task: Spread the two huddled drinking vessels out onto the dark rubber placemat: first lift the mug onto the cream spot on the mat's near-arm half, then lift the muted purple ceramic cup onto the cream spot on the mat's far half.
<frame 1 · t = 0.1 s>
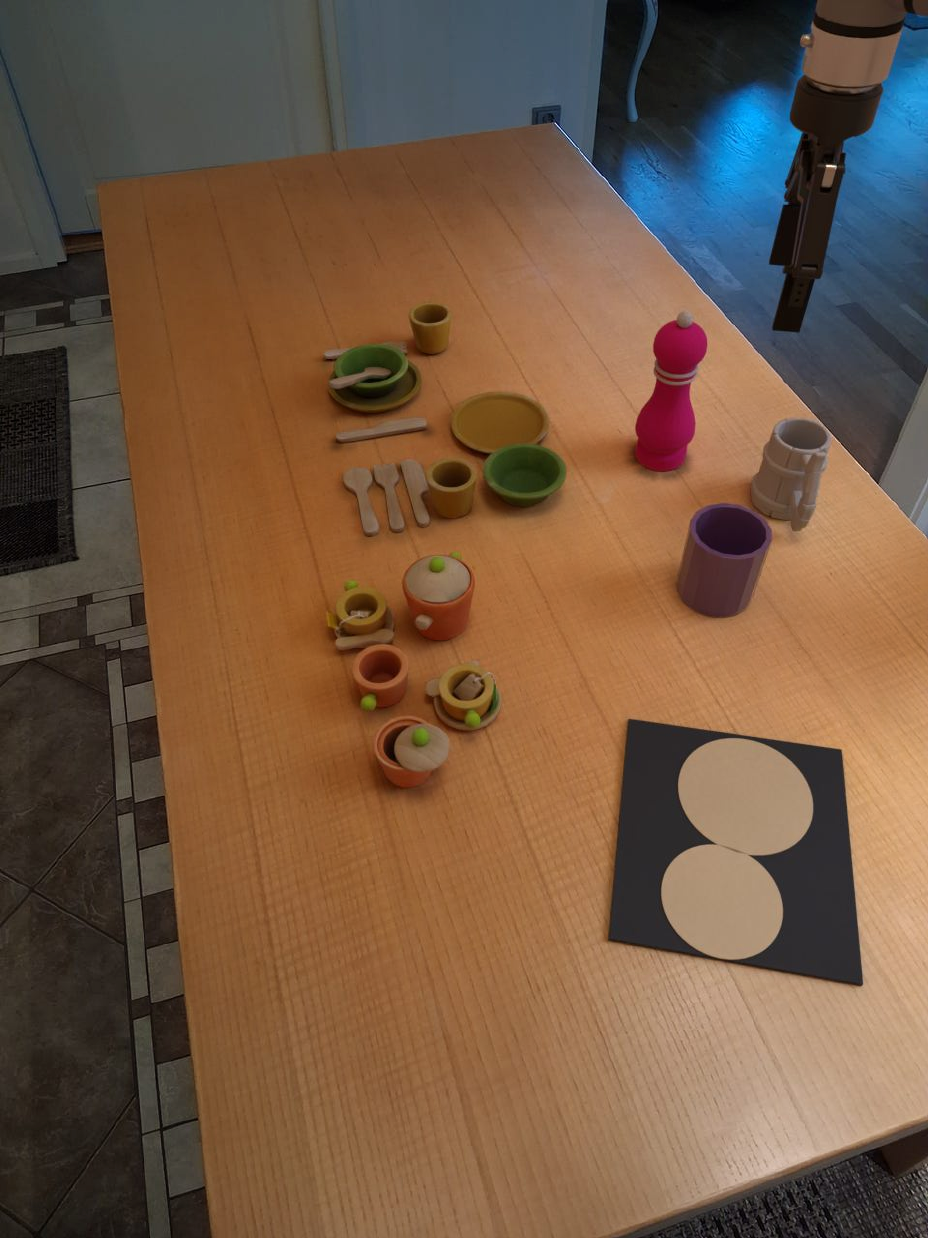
hand: (783, 295, 97), 21 cm above the table, tool pointing down, fingers open, 13 cm apart
tableware set: (439, 424, 119), on the table
purple cup: (714, 589, 98), on the table
mug: (784, 512, 106), on the table
toy tea set: (421, 683, 91), on the table
pepper mill: (659, 456, 114), on the table
placemat: (732, 839, 79), on the table
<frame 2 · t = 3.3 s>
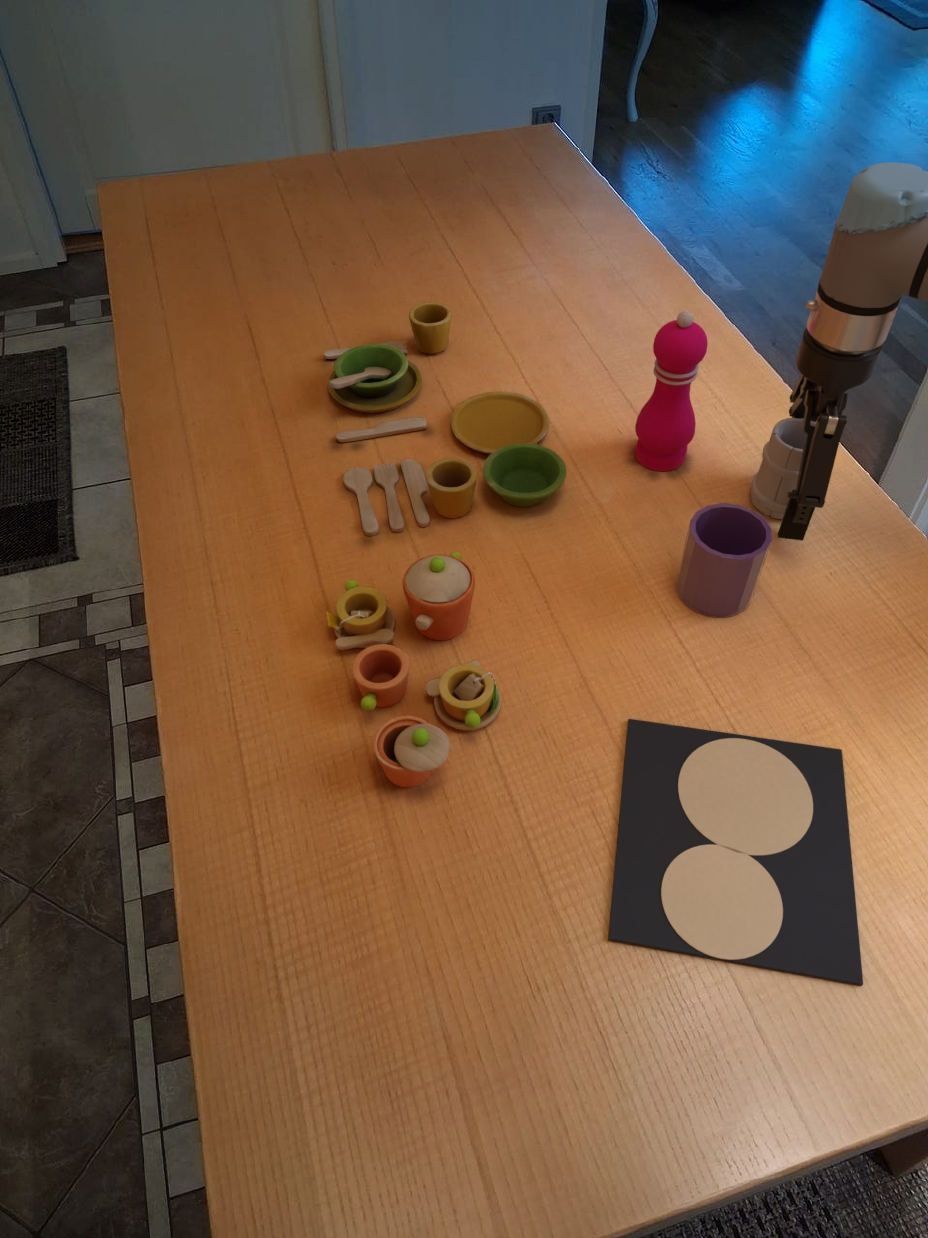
hand: (788, 499, 105), 2 cm above the table, tool pointing down, fingers closed on mug, 12 cm apart
mug: (783, 512, 106), on the table, touching gripper
everything else where it was.
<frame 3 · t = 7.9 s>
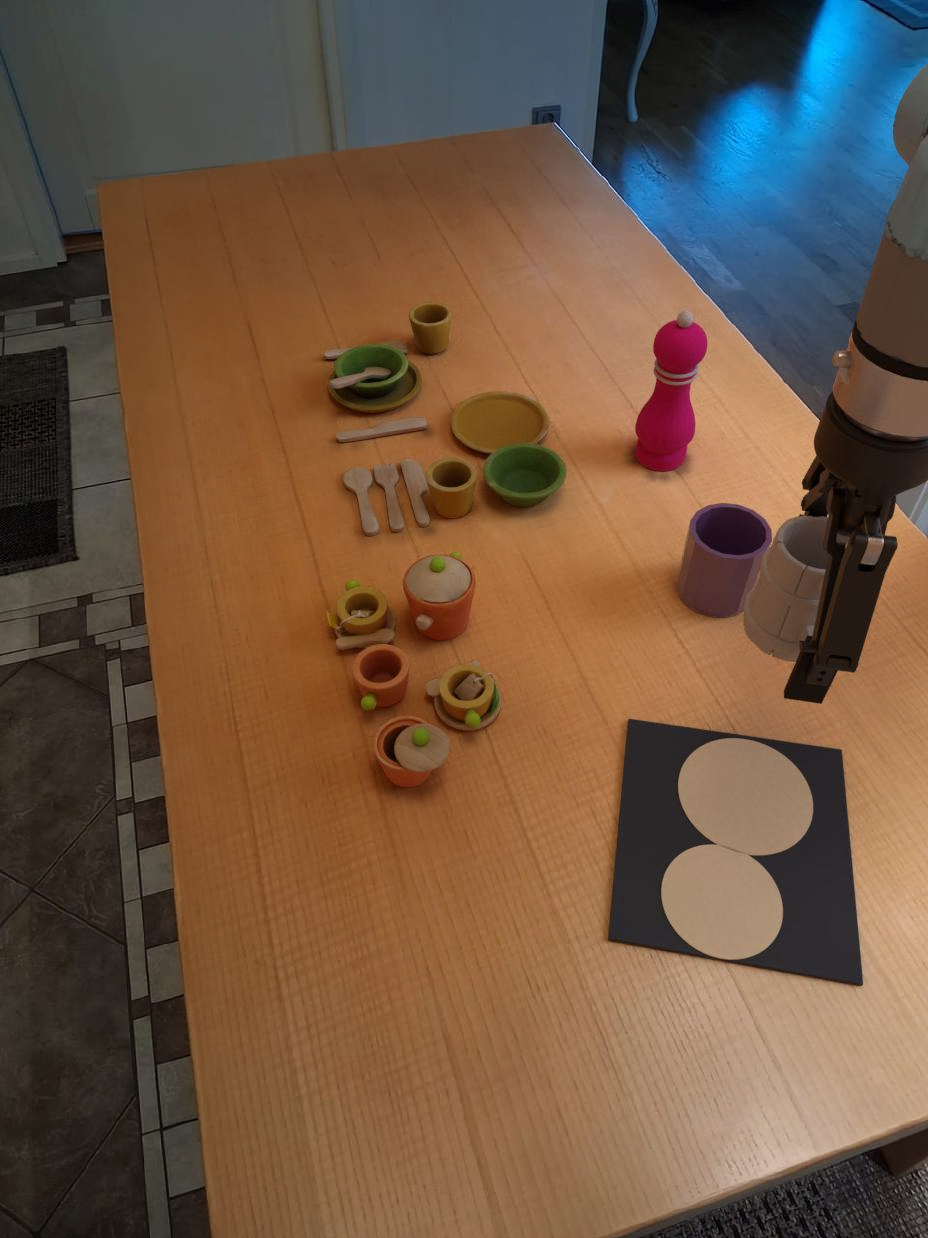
hand: (798, 633, 71), 18 cm above the table, tool pointing down, fingers closed on mug, 12 cm apart
mug: (791, 649, 72), point 16 cm above the table, touching gripper
everything else where it was.
when the fingers open (2 cm above the table, at t = 12.4 s): mug stays where it is, resting on placemat.
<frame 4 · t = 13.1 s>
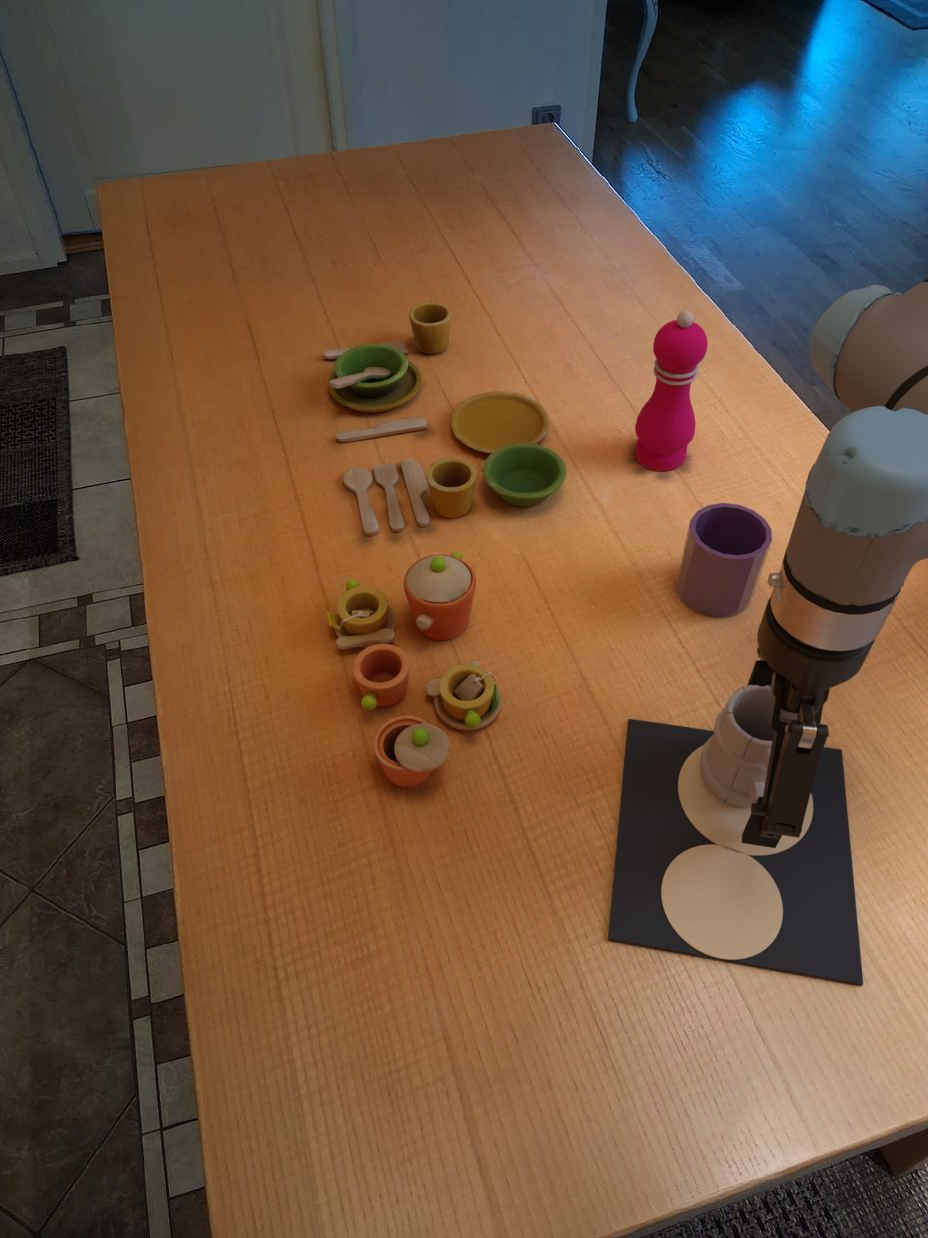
hand: (757, 771, 79), 4 cm above the table, tool pointing down, fingers open, 13 cm apart
mug: (743, 794, 82), resting on placemat
everything else where it was.
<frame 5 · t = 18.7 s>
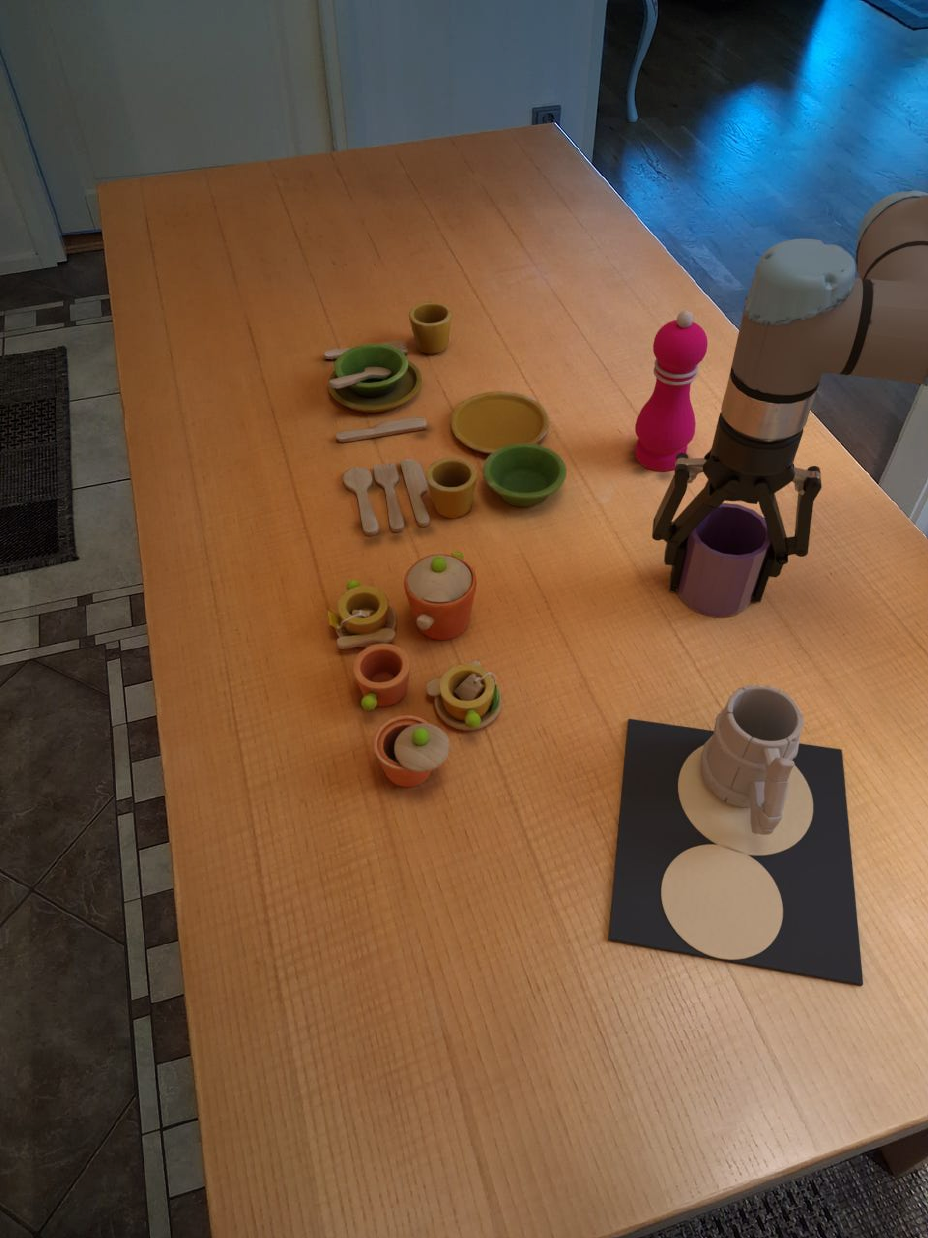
hand: (714, 587, 98), 0 cm above the table, tool pointing down, fingers closed on purple cup, 8 cm apart
purple cup: (714, 589, 98), on the table, touching gripper
everything else where it was.
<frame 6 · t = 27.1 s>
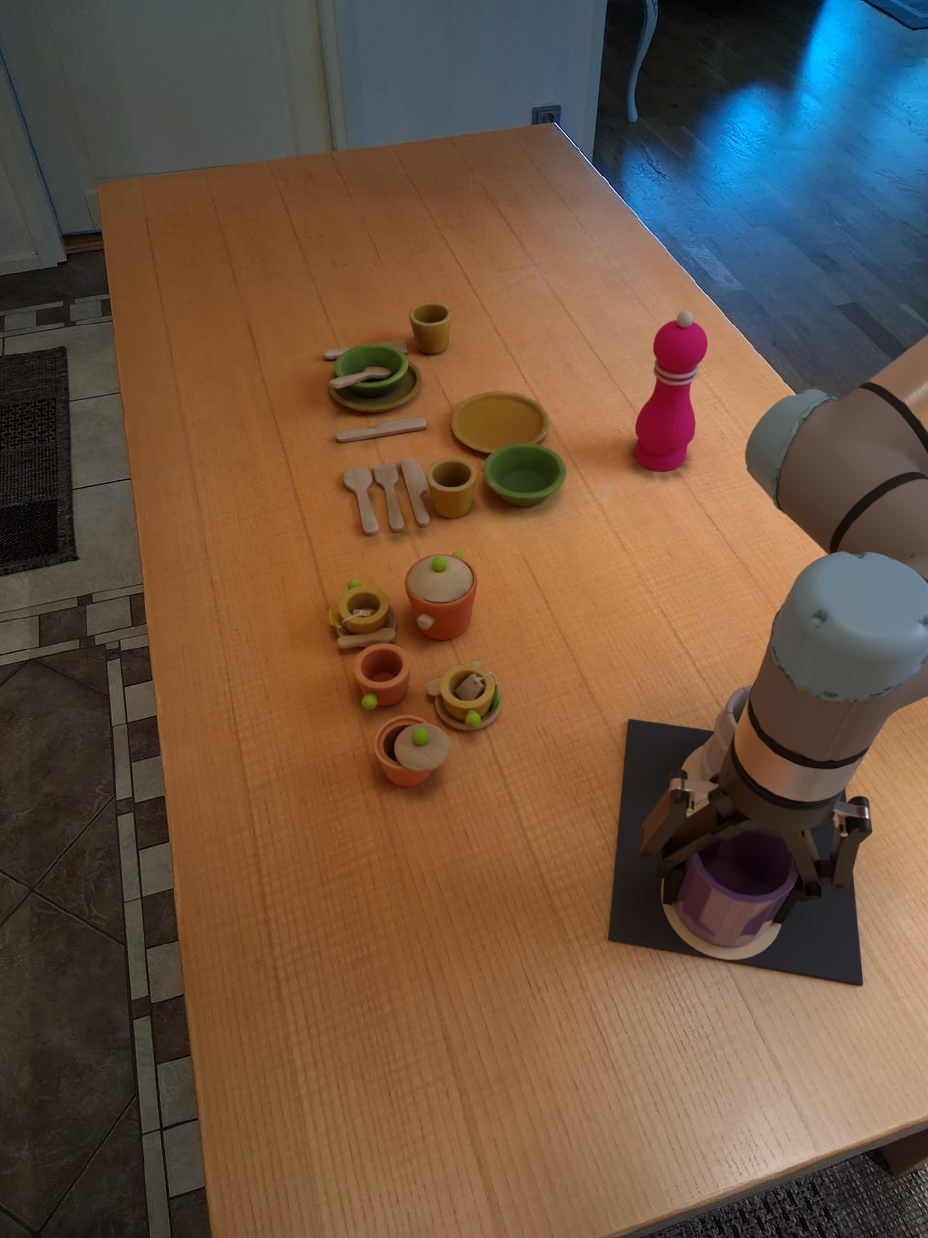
hand: (722, 898, 75), 1 cm above the table, tool pointing down, fingers closed on purple cup, 8 cm apart
purple cup: (721, 899, 75), point 1 cm above the table, touching gripper
everything else where it was.
when the fingers open (1 cm above the table, at t = 27.4 s): purple cup stays where it is, resting on placemat.
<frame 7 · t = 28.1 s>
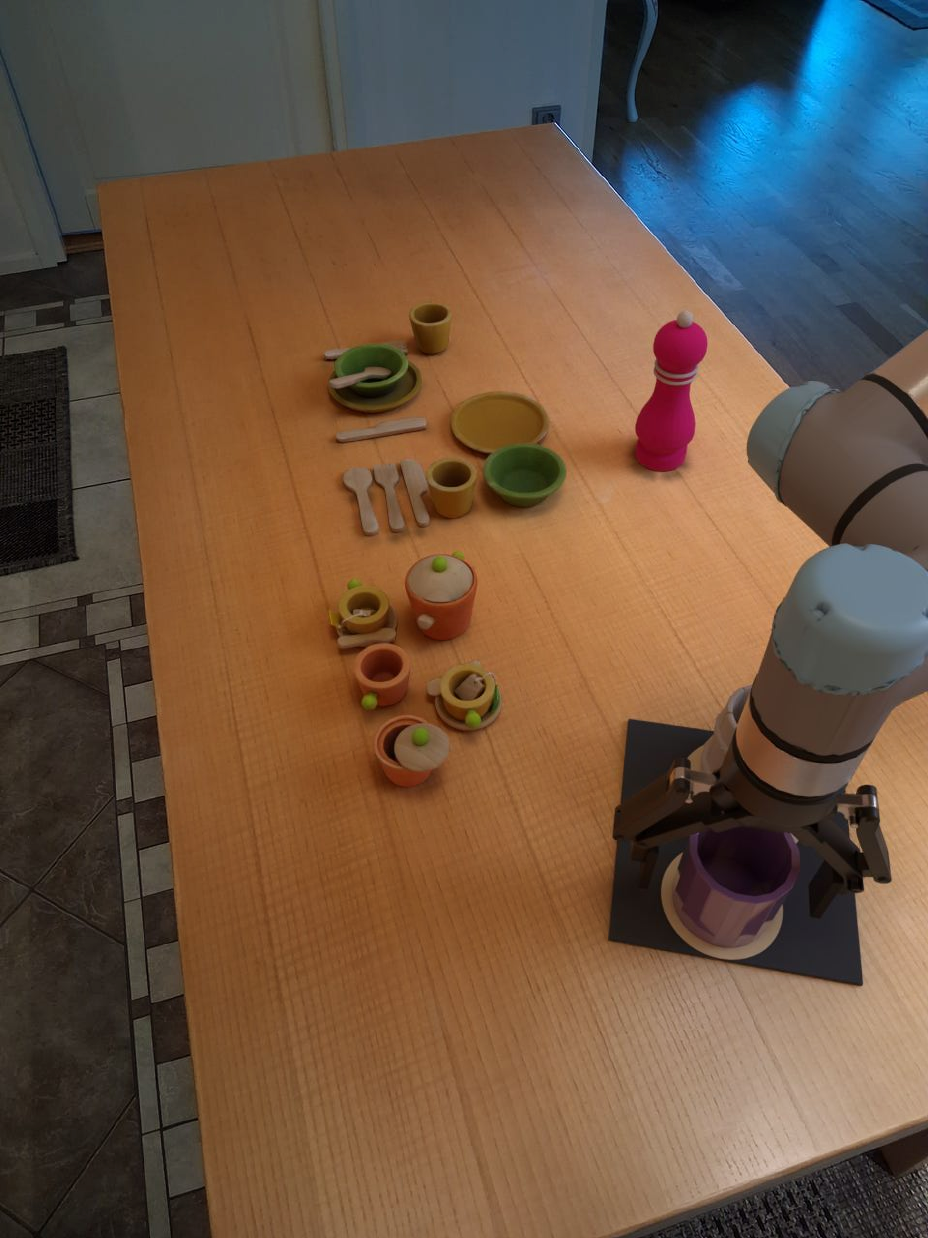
hand: (727, 887, 73), 3 cm above the table, tool pointing down, fingers open, 13 cm apart
purple cup: (721, 899, 75), resting on placemat
everything else where it was.
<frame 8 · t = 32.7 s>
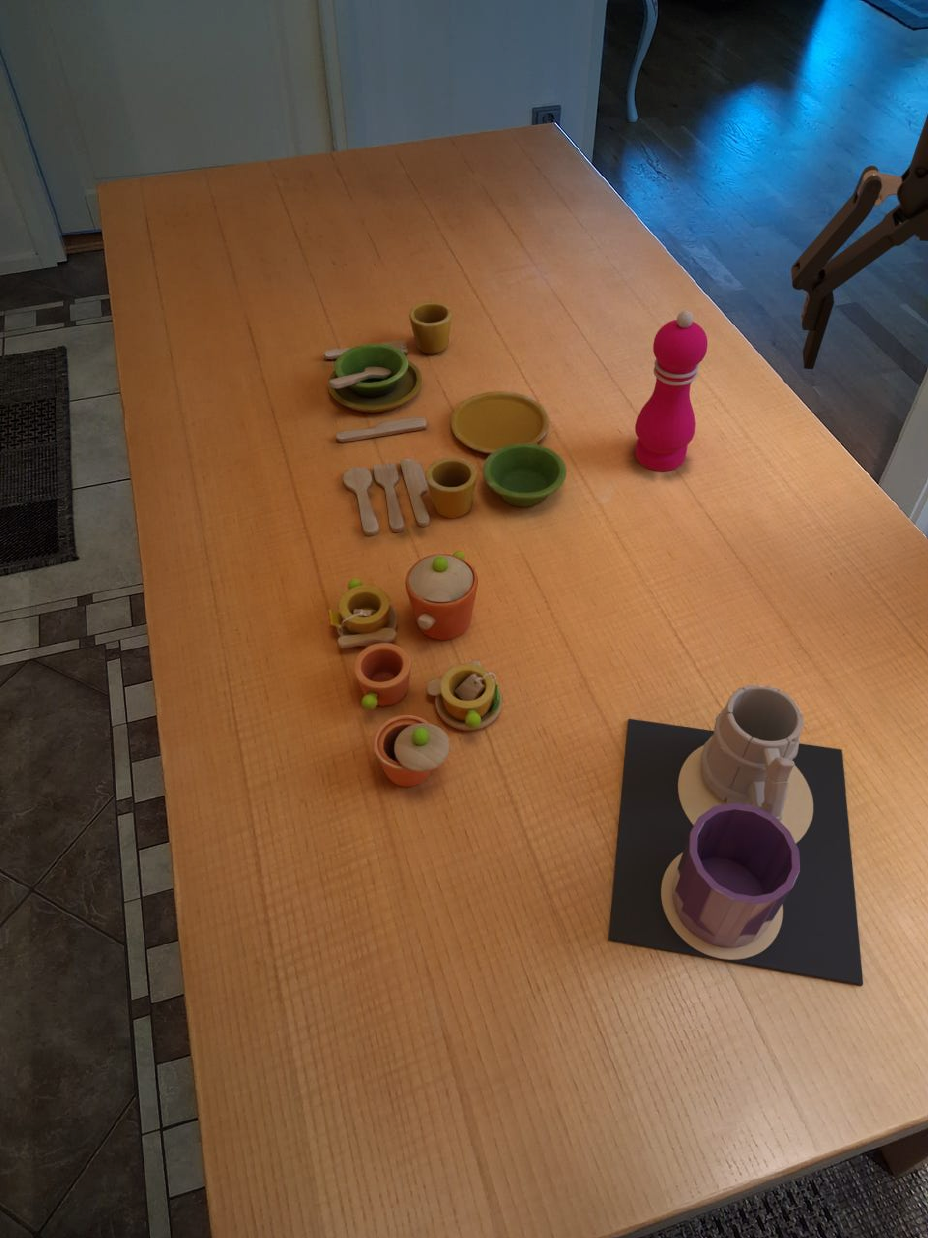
hand: (887, 367, 79), 27 cm above the table, tool pointing down, fingers open, 13 cm apart
nothing on the table moved.
at the end: mug inside the target area on the placemat (0.0 cm from its centre), point 0.3 cm above the placemat's base; purple cup inside the target area on the placemat (0.0 cm from its centre), point 0.5 cm above the placemat's base; purple cup tilted 0° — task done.
